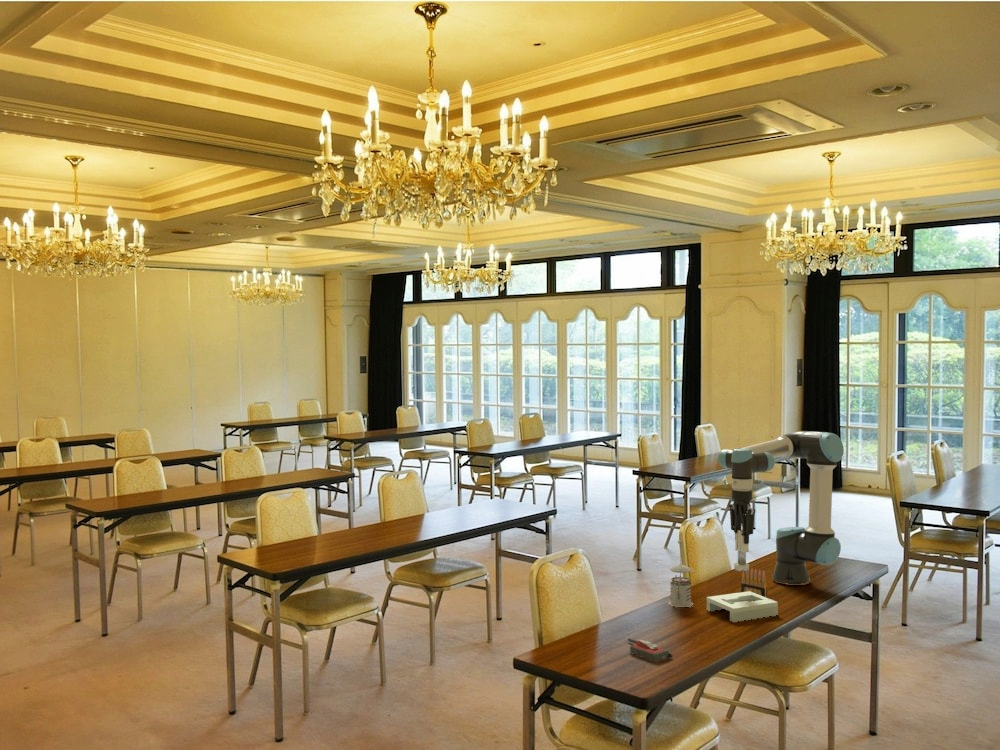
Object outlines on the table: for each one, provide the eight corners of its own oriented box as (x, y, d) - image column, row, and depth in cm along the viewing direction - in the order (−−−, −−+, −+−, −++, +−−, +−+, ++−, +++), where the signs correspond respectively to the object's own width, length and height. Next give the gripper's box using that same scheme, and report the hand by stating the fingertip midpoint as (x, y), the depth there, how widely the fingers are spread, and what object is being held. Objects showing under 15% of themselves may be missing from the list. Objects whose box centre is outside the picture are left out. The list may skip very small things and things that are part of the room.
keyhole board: (749, 603, 317) (749, 590, 317) (777, 615, 302) (777, 601, 302) (706, 610, 310) (706, 596, 309) (733, 622, 295) (733, 608, 295)
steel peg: (743, 567, 315) (743, 528, 315) (752, 570, 310) (752, 530, 310) (731, 568, 313) (731, 529, 313) (740, 571, 308) (740, 532, 308)
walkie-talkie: (677, 658, 260) (630, 642, 276) (677, 645, 260) (630, 629, 276) (658, 665, 255) (612, 648, 270) (658, 651, 255) (612, 635, 270)
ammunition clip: (767, 600, 322) (767, 569, 322) (764, 601, 320) (764, 570, 320) (743, 594, 330) (743, 565, 330) (740, 595, 328) (740, 566, 328)
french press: (696, 602, 320) (695, 538, 320) (689, 610, 310) (689, 544, 309) (671, 599, 324) (670, 536, 324) (664, 607, 314) (663, 542, 313)
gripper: (720, 487, 317) (721, 547, 317) (746, 493, 302) (746, 556, 302) (737, 486, 320) (737, 546, 320) (763, 491, 305) (763, 554, 305)
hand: (741, 550), depth 311 cm, fingers closed on steel peg, 3 cm apart
